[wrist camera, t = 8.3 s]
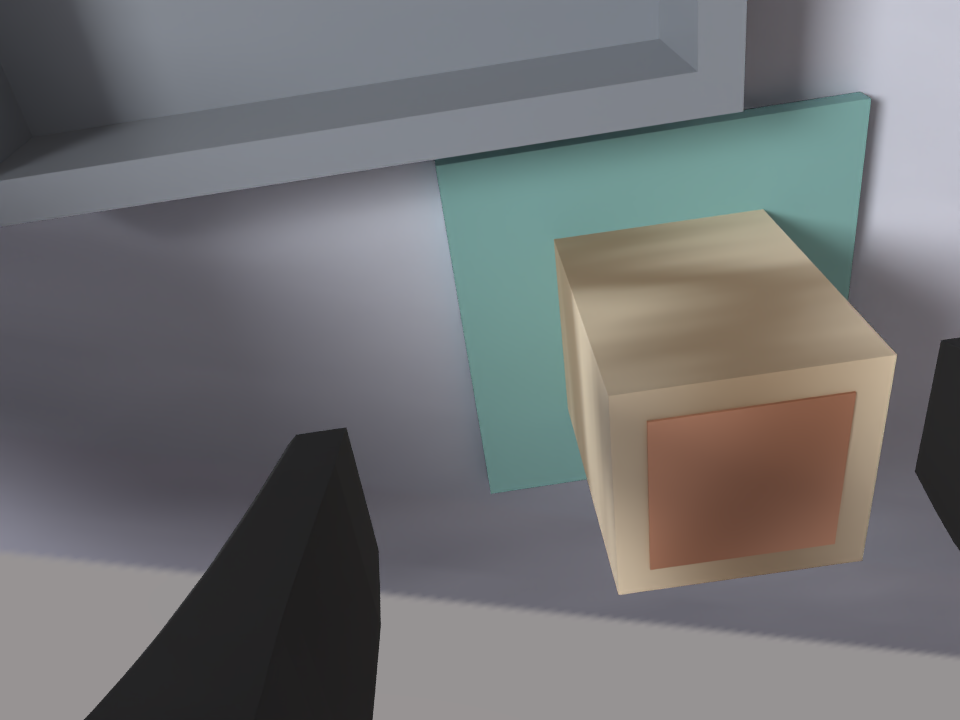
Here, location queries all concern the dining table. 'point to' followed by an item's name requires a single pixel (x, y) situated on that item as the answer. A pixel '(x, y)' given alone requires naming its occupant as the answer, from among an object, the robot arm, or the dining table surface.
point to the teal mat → (615, 206)
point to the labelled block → (719, 400)
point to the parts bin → (330, 87)
